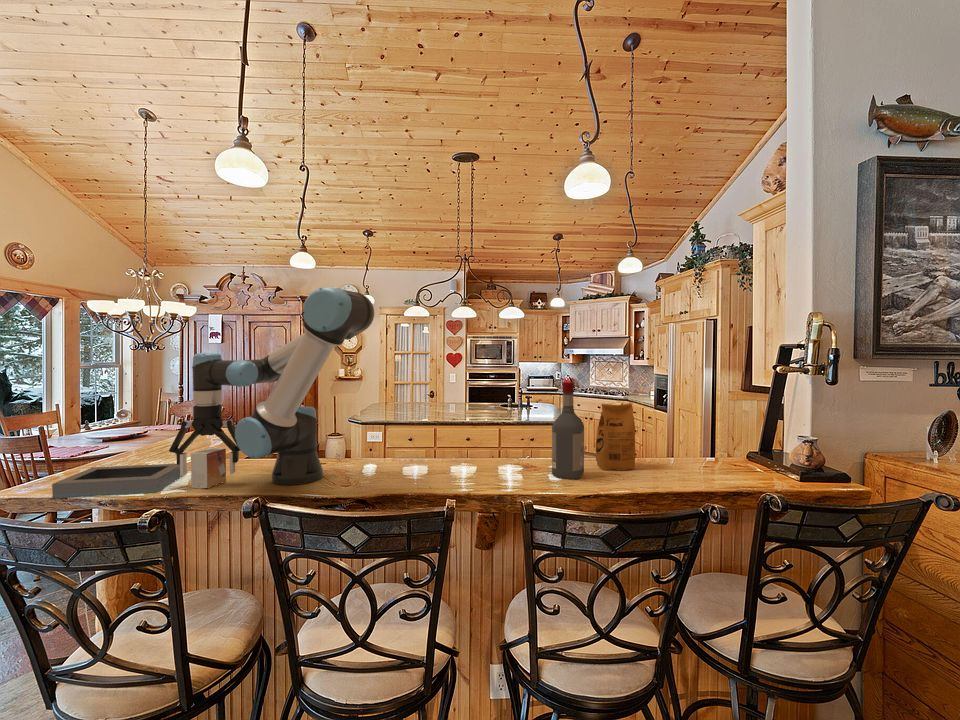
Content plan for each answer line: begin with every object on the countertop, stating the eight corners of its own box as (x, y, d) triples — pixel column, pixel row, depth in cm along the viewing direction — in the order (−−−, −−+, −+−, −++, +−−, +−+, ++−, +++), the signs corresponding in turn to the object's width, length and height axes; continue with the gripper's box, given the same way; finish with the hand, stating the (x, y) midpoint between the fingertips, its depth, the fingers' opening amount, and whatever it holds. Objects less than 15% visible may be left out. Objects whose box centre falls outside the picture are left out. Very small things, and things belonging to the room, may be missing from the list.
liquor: (585, 473, 153) (585, 382, 152) (578, 480, 145) (579, 384, 144) (557, 470, 157) (558, 381, 156) (550, 477, 148) (550, 383, 147)
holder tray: (184, 475, 152) (183, 463, 152) (157, 492, 134) (156, 478, 134) (93, 479, 147) (92, 467, 147) (52, 498, 129) (52, 483, 129)
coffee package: (593, 463, 166) (593, 401, 165) (628, 463, 166) (628, 401, 165) (600, 471, 156) (600, 405, 155) (638, 471, 156) (638, 405, 155)
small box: (207, 489, 137) (206, 453, 137) (190, 488, 138) (189, 453, 138) (227, 481, 145) (226, 447, 145) (211, 480, 146) (210, 447, 146)
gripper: (255, 402, 147) (255, 469, 148) (167, 403, 142) (168, 472, 143) (248, 405, 139) (248, 475, 140) (155, 406, 135) (156, 479, 135)
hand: (208, 474), depth 141 cm, fingers open, 13 cm apart
